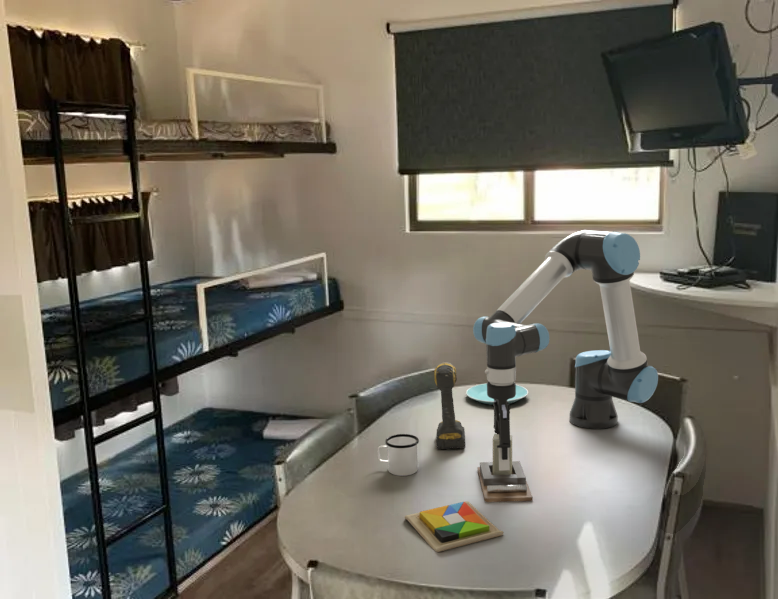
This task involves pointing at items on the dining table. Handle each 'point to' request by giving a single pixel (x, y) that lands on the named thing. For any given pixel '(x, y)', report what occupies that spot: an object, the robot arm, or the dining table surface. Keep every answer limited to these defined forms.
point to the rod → (506, 488)
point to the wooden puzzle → (452, 526)
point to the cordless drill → (448, 409)
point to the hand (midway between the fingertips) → (502, 463)
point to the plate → (481, 395)
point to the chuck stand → (503, 483)
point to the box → (496, 457)
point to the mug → (401, 454)
